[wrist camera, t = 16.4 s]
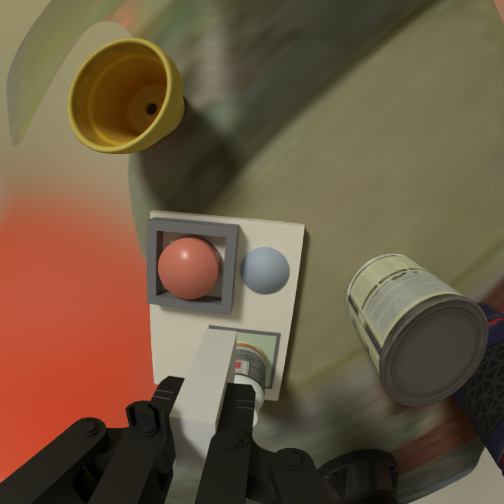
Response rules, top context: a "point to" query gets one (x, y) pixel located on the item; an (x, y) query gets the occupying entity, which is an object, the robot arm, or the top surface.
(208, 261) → the button
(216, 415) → the robot arm
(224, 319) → the white control panel
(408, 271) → the coffee can
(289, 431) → the top surface
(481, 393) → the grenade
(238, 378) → the pill bottle
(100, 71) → the plant pot
